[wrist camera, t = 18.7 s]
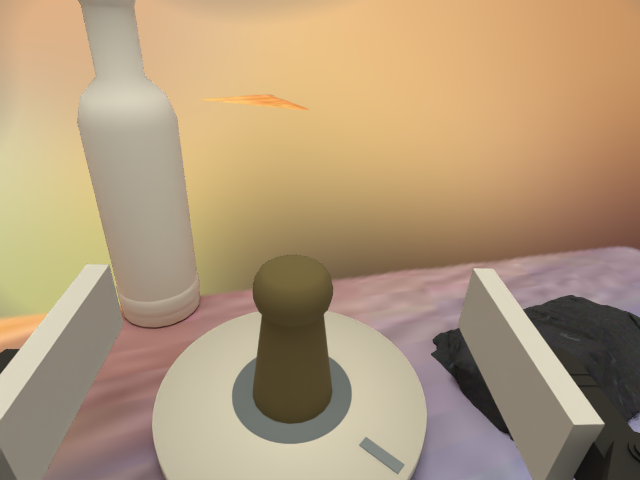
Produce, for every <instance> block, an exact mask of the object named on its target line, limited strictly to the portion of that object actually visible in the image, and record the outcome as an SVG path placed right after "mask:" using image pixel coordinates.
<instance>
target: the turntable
mask: <svg viewBox="0 0 640 480" xmlns="http://www.w3.org/2000/svg"><path fill="white" fill-rule="evenodd" d="M261 317H262V314H260V313H259V311H258V312H254V313H249V314H246V315H243V316H240V317H237V318H234V319H232V320H230V321H227V322H225V323H223V324H221V325H219V326H217V327H215V328H214V329H212V330H210V331H209V332H207V333H206V334H204V335H203V336H201V337H200V338H198V339H197V340H196V341H195V342H193V343H192V344H191V345H190V346H189V347H188V348H187V349H186V350H185V351H184V352H183V353H182V354H181V355H180V356H179V357H178V358H177V360H176V361H175V362H174V363H173V365H172V366H171V367H170V369H169V370H168V372H167V374H166V376H165V378H164V379H163V381H162V383H161V386H160V388H159V391H158V393H157V396H156V400H155V405H154V409H153V420H152V430H153V439H154V445H155V449H156V453H157V457H158V461H159V464H160V468H161V471H162V474H163V476H164V478H165V480H410V479H411V478H412V476H413V474H414V472H415V469H416V466H417V464H418V461H419V459H420V455H421V451H422V446H423V442H424V437H425V432H426V422H427V410H426V402H425V397H424V393H423V390H422V386H421V383H420V381H419V379H418V377H417V375H416V372H415V371H414V369H413V367H412V366H411V364H410V363H409V361H408V360H407V359H406V357H405V356H404V355H403V354H402V352H401V351H400V350H399V349H398V348H397V347H396V346H395V345H394V344H393V343H392V342H391V341H390V340H388V339H387V338H386V337H384V336H383V335H382V334H380V333H379V332H377V331H376V330H374V329H372V328H371V327H369V326H368V325H365V324H363V323H361V322H359V321H357V320H355V319H352V318H350V317H347V316H344V315H341V314H337V313H334V312H330V311H326V312H325V313H324V321H325V329H326V338H327V347H328V356H329V365H330V374H331V382H332V391H333V392H332V397H331V401H330V403H329V405H328V406H327V407H326V409H325V410H324V411H323V412H322V413H321V414H319V415H318V416H317V417H315V418H314V419H311V420H308V421H305V422H303V423H293V424H286V423H282V422H277V421H274V420H272V419H270V418H268V417H266V416H265V415H263V414H262V412H261V411H260V410H259V409H258V408H257V407H256V405H255V402H254V399H253V382H254V374H255V366H256V358H257V350H258V341H259V333H260V325H261Z"/></svg>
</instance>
